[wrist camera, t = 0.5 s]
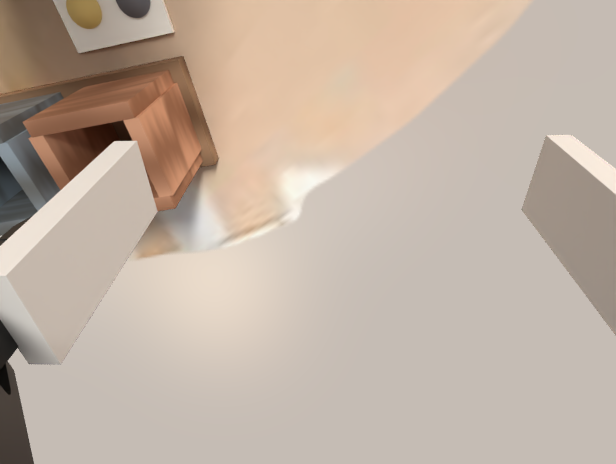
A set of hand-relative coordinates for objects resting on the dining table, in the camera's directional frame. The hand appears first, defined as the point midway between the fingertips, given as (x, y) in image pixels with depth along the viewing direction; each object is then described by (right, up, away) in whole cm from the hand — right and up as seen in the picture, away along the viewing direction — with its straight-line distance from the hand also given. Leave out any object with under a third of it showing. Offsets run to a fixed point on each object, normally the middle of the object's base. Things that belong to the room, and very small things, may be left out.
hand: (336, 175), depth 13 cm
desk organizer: (-21, +8, +27) cm, 35 cm away
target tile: (-17, +17, +20) cm, 32 cm away
